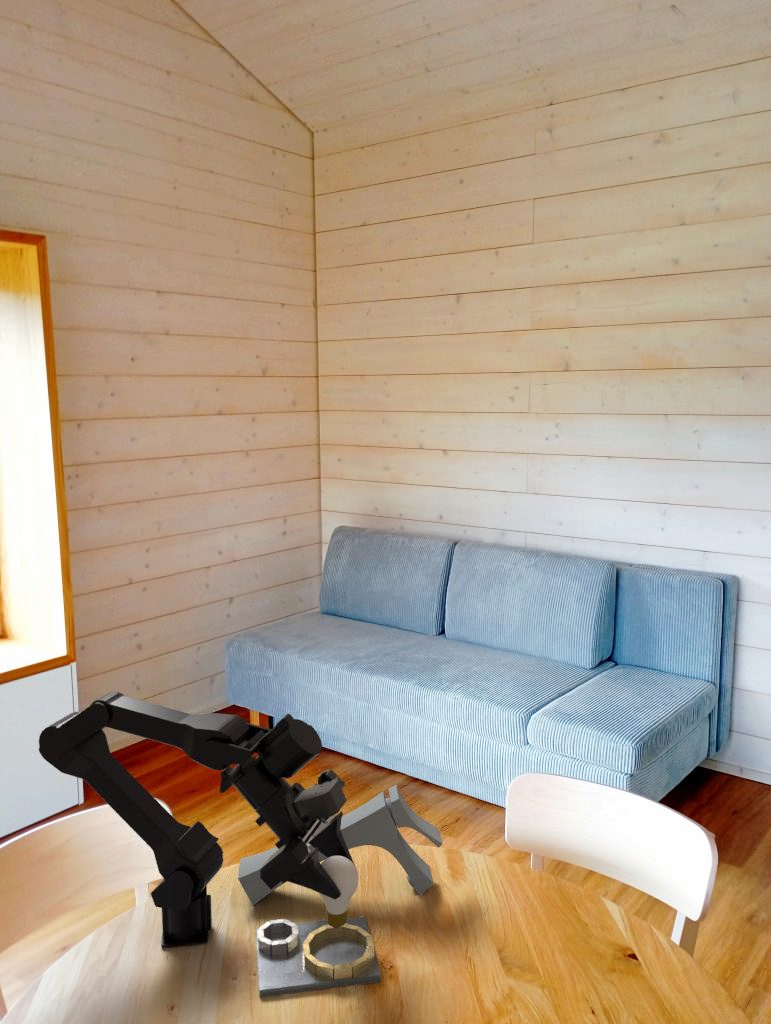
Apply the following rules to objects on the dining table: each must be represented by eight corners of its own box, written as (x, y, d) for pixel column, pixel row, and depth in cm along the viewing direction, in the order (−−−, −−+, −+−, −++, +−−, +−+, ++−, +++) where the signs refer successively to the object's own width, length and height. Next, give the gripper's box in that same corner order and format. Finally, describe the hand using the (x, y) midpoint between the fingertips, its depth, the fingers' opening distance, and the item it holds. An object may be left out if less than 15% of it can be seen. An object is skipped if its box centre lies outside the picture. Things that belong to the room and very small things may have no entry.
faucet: (286, 966, 132) (460, 880, 132) (237, 877, 129) (414, 790, 130) (287, 940, 138) (454, 858, 138) (240, 856, 135) (410, 772, 136)
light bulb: (366, 929, 116) (367, 861, 115) (331, 946, 113) (331, 875, 111) (341, 908, 121) (342, 842, 120) (306, 924, 117) (306, 856, 116)
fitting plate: (259, 997, 111) (259, 979, 110) (255, 935, 123) (255, 919, 123) (380, 981, 114) (380, 964, 113) (365, 922, 126) (364, 906, 126)
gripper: (282, 792, 106) (366, 890, 104) (333, 735, 124) (405, 818, 122) (225, 841, 109) (305, 937, 108) (283, 779, 127) (352, 860, 125)
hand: (346, 884), depth 116 cm, fingers closed on light bulb, 6 cm apart
